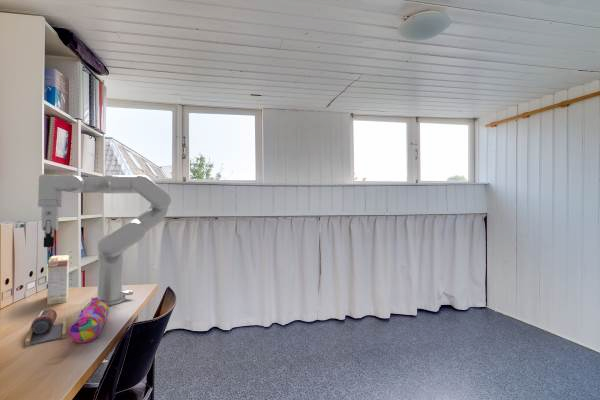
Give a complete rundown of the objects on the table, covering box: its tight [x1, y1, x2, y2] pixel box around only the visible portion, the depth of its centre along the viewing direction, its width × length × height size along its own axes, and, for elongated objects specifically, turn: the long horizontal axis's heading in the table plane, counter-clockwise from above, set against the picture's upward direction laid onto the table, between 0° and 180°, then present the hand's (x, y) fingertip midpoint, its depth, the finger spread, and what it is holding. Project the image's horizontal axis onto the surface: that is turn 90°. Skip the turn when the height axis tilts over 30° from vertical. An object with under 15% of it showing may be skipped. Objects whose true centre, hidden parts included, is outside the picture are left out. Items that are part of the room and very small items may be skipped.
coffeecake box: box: [46, 254, 70, 305], centre depth 135 cm, size 15×7×20 cm, turn 36°
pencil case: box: [68, 296, 110, 343], centre depth 103 cm, size 22×9×9 cm, turn 29°
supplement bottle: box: [30, 308, 58, 334], centre depth 102 cm, size 6×6×11 cm
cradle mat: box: [24, 319, 68, 347], centre depth 100 cm, size 10×14×2 cm
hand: (48, 246), depth 121 cm, fingers closed
